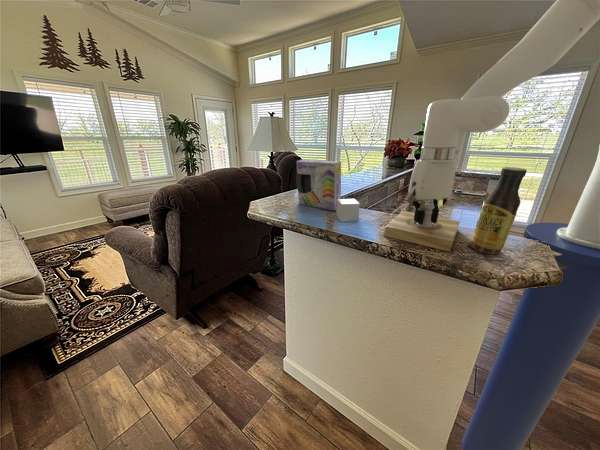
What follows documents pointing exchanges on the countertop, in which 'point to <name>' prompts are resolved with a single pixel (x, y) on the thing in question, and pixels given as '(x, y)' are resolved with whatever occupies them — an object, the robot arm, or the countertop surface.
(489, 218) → the sauce bottle
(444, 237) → the wooden block
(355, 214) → the white cube
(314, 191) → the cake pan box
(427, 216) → the rook chess piece
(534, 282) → the countertop surface
